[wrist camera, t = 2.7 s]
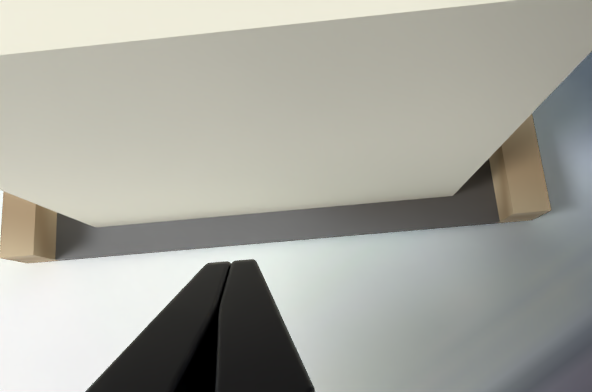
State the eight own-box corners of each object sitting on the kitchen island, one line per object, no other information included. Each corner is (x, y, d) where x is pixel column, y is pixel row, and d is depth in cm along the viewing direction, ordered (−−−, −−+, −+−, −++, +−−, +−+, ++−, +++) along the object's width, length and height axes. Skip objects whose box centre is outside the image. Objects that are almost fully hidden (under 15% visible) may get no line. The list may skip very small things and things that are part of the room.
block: (452, 195, 15) (655, -15, 6) (95, 227, 16) (-270, 84, 6) (431, 60, 17) (572, -309, 7) (98, 94, 17) (-211, -204, 7)
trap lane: (531, 220, 15) (551, 210, 14) (27, 263, 16) (-1, 257, 15) (460, -158, 19) (470, -195, 17) (46, -107, 19) (24, -140, 18)
